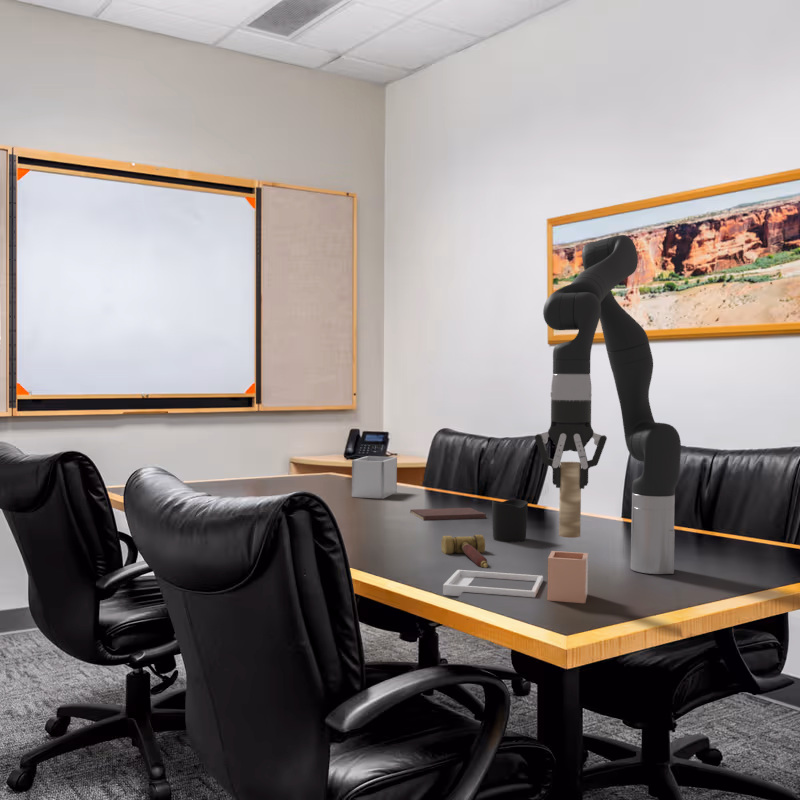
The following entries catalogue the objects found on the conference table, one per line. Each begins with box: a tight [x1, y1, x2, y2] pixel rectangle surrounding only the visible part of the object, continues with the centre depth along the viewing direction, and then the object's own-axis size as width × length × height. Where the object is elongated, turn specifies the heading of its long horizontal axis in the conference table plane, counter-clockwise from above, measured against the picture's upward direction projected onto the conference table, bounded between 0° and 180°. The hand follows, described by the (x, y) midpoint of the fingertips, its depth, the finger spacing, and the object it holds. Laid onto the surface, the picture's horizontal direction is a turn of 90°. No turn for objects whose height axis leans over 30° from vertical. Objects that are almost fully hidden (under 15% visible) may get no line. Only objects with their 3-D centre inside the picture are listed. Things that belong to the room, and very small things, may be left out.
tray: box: [442, 569, 544, 598], centre depth 174 cm, size 18×14×2 cm
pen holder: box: [491, 499, 529, 543], centre depth 229 cm, size 9×9×10 cm
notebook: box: [409, 507, 487, 521], centre depth 268 cm, size 15×20×2 cm
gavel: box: [440, 534, 488, 569], centre depth 204 cm, size 21×5×10 cm
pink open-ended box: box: [546, 550, 589, 604], centre depth 165 cm, size 7×7×9 cm
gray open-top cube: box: [351, 455, 398, 499], centre depth 313 cm, size 12×18×13 cm, turn 165°
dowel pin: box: [558, 461, 582, 539], centre depth 165 cm, size 4×4×14 cm
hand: (570, 487), depth 165 cm, fingers closed on dowel pin, 4 cm apart
